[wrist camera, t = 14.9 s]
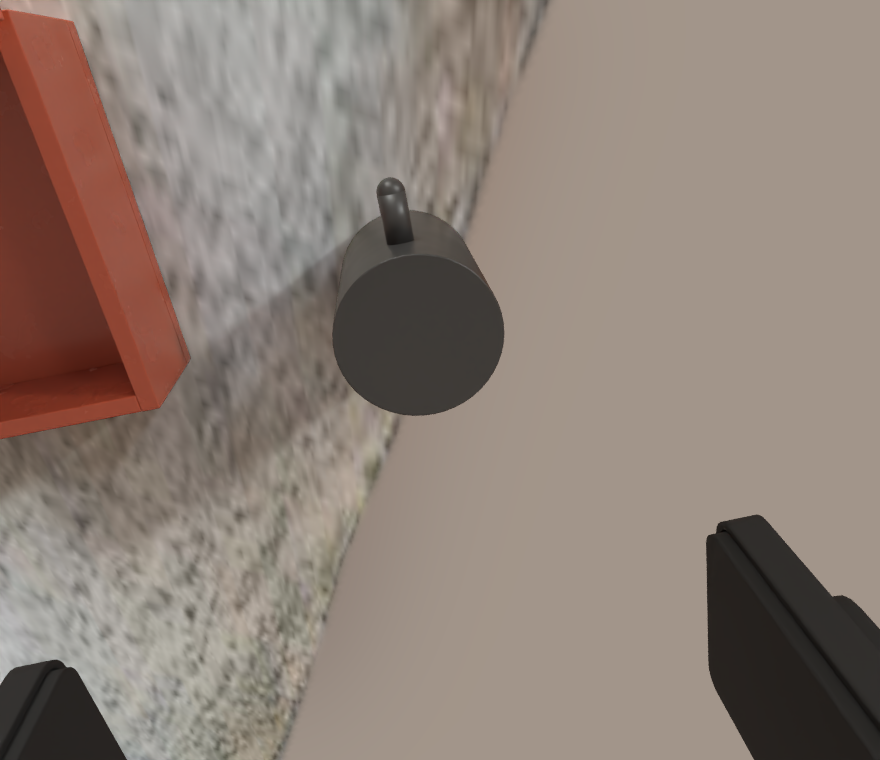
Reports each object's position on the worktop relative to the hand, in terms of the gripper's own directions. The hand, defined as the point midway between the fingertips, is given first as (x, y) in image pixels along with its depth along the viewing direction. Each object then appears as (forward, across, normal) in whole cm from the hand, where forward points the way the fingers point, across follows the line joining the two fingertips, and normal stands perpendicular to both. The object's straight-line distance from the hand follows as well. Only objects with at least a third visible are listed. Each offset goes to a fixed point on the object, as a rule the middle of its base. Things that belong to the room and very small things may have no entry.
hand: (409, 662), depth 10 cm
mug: (+26, -1, +1) cm, 26 cm away
